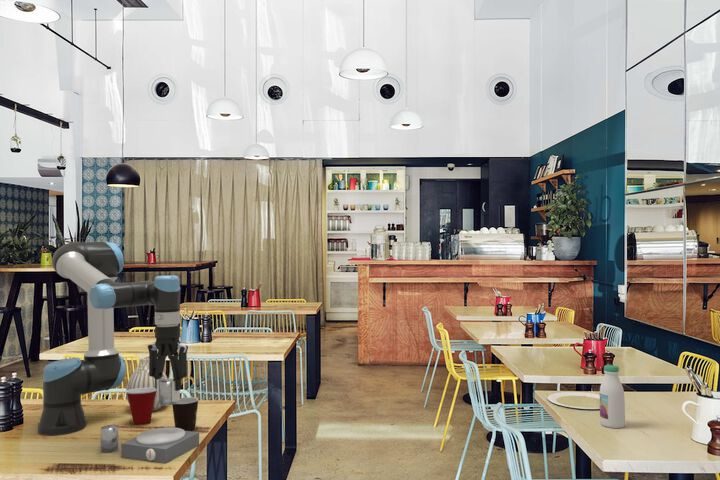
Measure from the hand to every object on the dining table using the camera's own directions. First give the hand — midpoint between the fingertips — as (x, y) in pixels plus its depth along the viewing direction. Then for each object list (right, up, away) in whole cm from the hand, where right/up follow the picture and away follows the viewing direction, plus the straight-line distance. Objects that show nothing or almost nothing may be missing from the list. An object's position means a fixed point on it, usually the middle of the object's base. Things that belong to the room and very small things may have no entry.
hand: (168, 400), depth 177 cm
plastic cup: (-18, -16, +26) cm, 35 cm away
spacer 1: (-17, -15, -2) cm, 23 cm away
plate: (+146, -14, +46) cm, 154 cm away
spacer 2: (0, -1, 0) cm, 1 cm away
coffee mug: (+1, -15, +18) cm, 24 cm away
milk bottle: (+145, -13, +15) cm, 146 cm away
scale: (-1, -15, -3) cm, 15 cm away
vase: (-22, -16, +43) cm, 51 cm away
